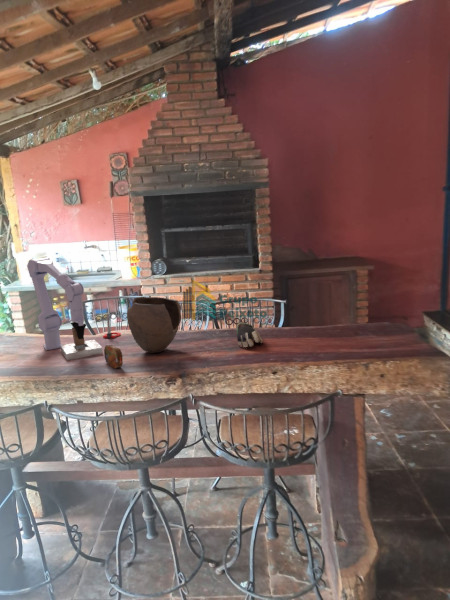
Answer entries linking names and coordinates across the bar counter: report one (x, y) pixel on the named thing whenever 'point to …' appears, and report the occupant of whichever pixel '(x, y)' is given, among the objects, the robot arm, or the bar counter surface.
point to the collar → (81, 350)
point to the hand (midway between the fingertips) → (79, 337)
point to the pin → (76, 340)
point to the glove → (247, 335)
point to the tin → (113, 356)
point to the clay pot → (154, 322)
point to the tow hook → (109, 334)
